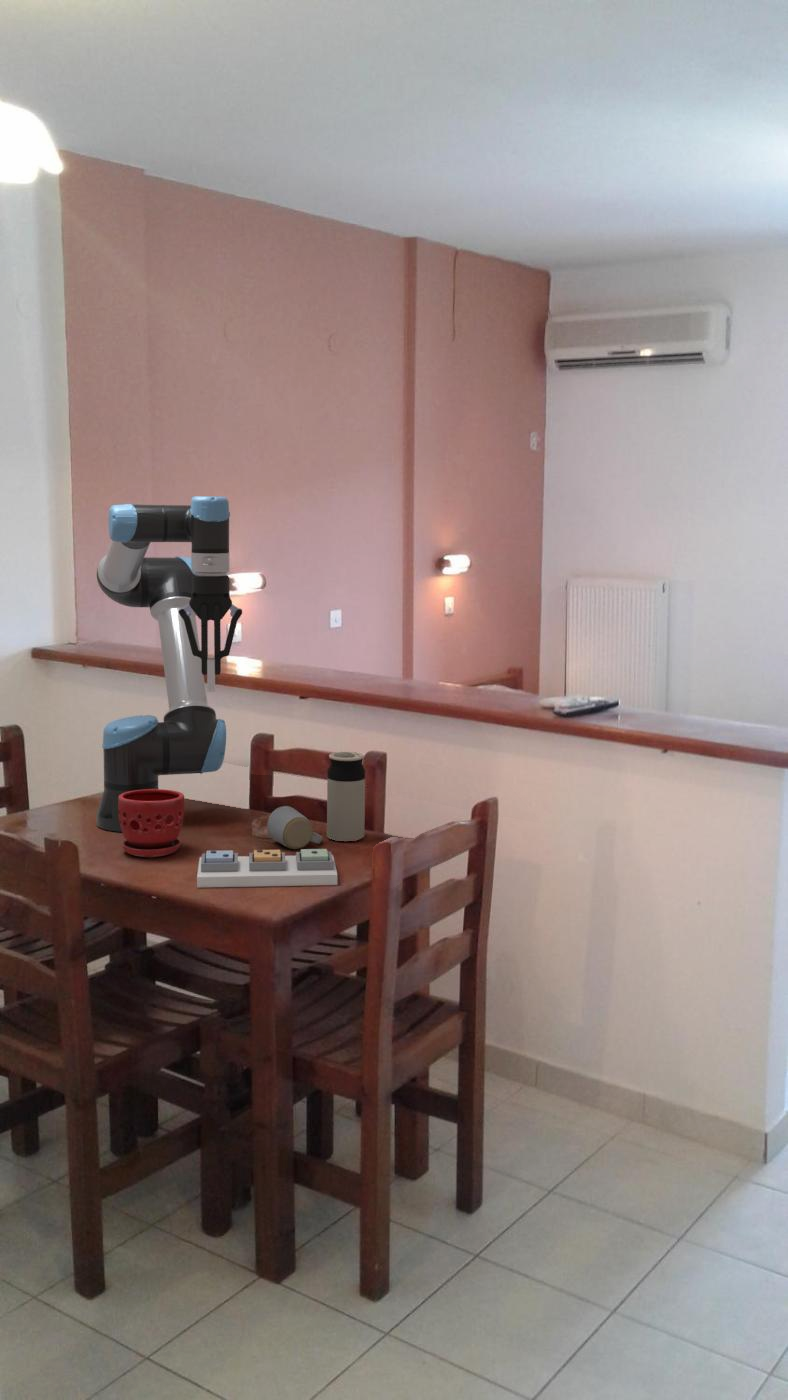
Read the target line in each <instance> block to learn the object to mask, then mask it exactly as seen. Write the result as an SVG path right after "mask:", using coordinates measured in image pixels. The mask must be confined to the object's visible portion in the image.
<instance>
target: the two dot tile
mask: <svg viewBox="0 0 788 1400" xmlns="http://www.w3.org/2000/svg"><path fill="white" fill-rule="evenodd" d="M233 853H234V850H231V849H230V850H227V849H226V850H206V853H205V854H206V863H229V862H233Z"/></svg>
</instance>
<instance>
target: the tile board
mask: <svg viewBox="0 0 788 1400" xmlns="http://www.w3.org/2000/svg"><path fill="white" fill-rule="evenodd" d="M248 853H249V856H247V855H246V856H244V855H243V856H239V853H238V852H233V862H229V863H206V853H202V854H201V856H199V861H198V866H197V875H196V888H198V889H199V888H201V889H202V888H238V887H239V888H240V887H241V888H246V887H247V888H249V887H254V888H255V887H292V886H293V887H295V886H296V887H297V886H298V887H299V886H302V887H303V886H338V870H337V866H336V862H335V857H334V855H333V854H332V851H327V853H328V861H301V851H296V852H295V855H286V853H285V851H283V852H281V851H280V855H281V862H254V852H248Z"/></svg>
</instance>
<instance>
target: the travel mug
mask: <svg viewBox="0 0 788 1400" xmlns="http://www.w3.org/2000/svg"><path fill="white" fill-rule="evenodd" d="M328 757H329V759H330V760H329V761H330V765H329V767H328V769H327V773H326V774H327V776H326V777H327V781H326V783H327V784H326V785H327V786H326V787H327V788H326V791H327V792H326V794H327V795H326V796H327V797H326V809H327V810H326V838H327V839H329V840H331V839H332V840H331V841H333V840H335V841H334V842H337V841H352V840H356V839H360V838H362V837H363V836H364V837H365V823H366V822H365V819H366V818H365V817H366V815H365V814H366V813H365V812H366V811H365V809H366V804H365V803H366V769H365V768H364V766H363V759H364V758H365V755H364V754H363V753H361V752H358V751H357V752H356V751H337V752H332V753H331V752H330V754H329V755H328Z"/></svg>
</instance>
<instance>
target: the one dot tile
mask: <svg viewBox="0 0 788 1400" xmlns="http://www.w3.org/2000/svg"><path fill="white" fill-rule="evenodd" d="M300 852H301V861H328V853H327V852H328V849H327V848H307V849H306V848H305V849H303V848H301V849H300Z"/></svg>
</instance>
